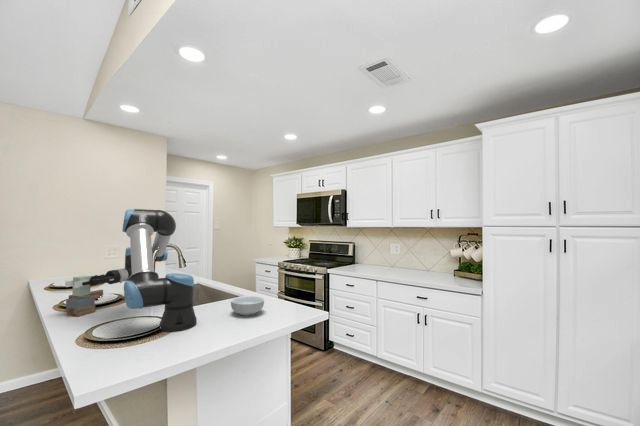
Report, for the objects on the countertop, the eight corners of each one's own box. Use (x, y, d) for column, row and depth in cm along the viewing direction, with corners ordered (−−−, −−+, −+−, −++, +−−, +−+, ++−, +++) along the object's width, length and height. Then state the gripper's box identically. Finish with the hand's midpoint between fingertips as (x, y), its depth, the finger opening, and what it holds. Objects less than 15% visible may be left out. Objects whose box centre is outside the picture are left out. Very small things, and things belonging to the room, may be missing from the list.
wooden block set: (66, 293, 163) (101, 287, 179) (66, 304, 162) (100, 296, 179) (83, 297, 156) (118, 290, 172) (83, 307, 156) (118, 299, 172)
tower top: (94, 304, 147) (95, 296, 147) (77, 309, 140) (78, 300, 140) (83, 303, 149) (83, 295, 150) (65, 307, 142) (66, 299, 142)
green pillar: (90, 293, 146) (90, 276, 146) (79, 296, 141) (80, 277, 142) (83, 293, 148) (83, 275, 148) (72, 295, 143) (73, 277, 143)
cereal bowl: (270, 312, 152) (270, 298, 152) (247, 321, 138) (247, 306, 138) (247, 306, 161) (248, 294, 161) (223, 314, 147) (224, 300, 147)
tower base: (94, 312, 147) (95, 304, 147) (77, 317, 139) (78, 309, 140) (83, 311, 149) (84, 303, 150) (66, 315, 142) (66, 307, 142)
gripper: (128, 284, 159) (82, 294, 137) (104, 281, 164) (56, 290, 142) (128, 270, 159) (83, 278, 137) (104, 268, 165) (57, 275, 142)
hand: (70, 284), depth 140 cm, fingers closed on green pillar, 5 cm apart
